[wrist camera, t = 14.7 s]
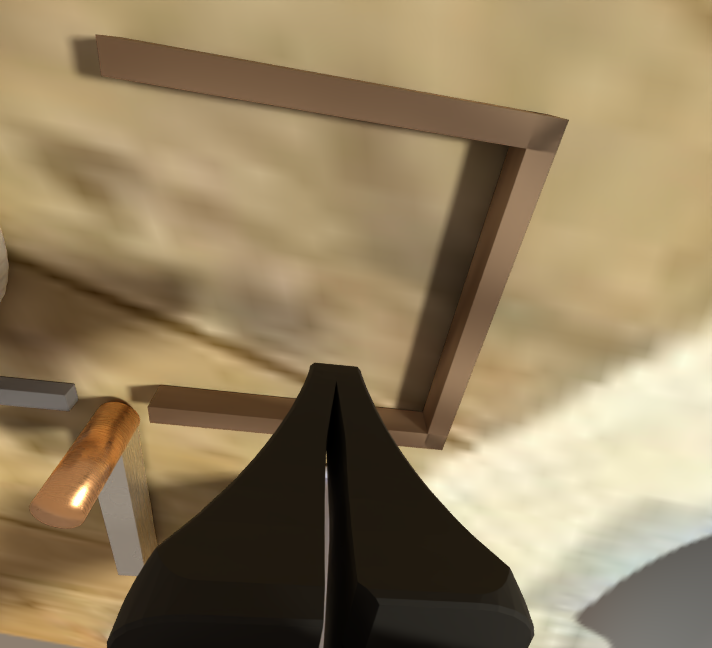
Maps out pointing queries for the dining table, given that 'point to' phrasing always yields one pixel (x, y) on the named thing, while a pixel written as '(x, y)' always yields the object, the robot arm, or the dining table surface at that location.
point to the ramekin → (3, 266)
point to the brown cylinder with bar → (104, 486)
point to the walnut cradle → (384, 106)
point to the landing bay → (37, 394)
